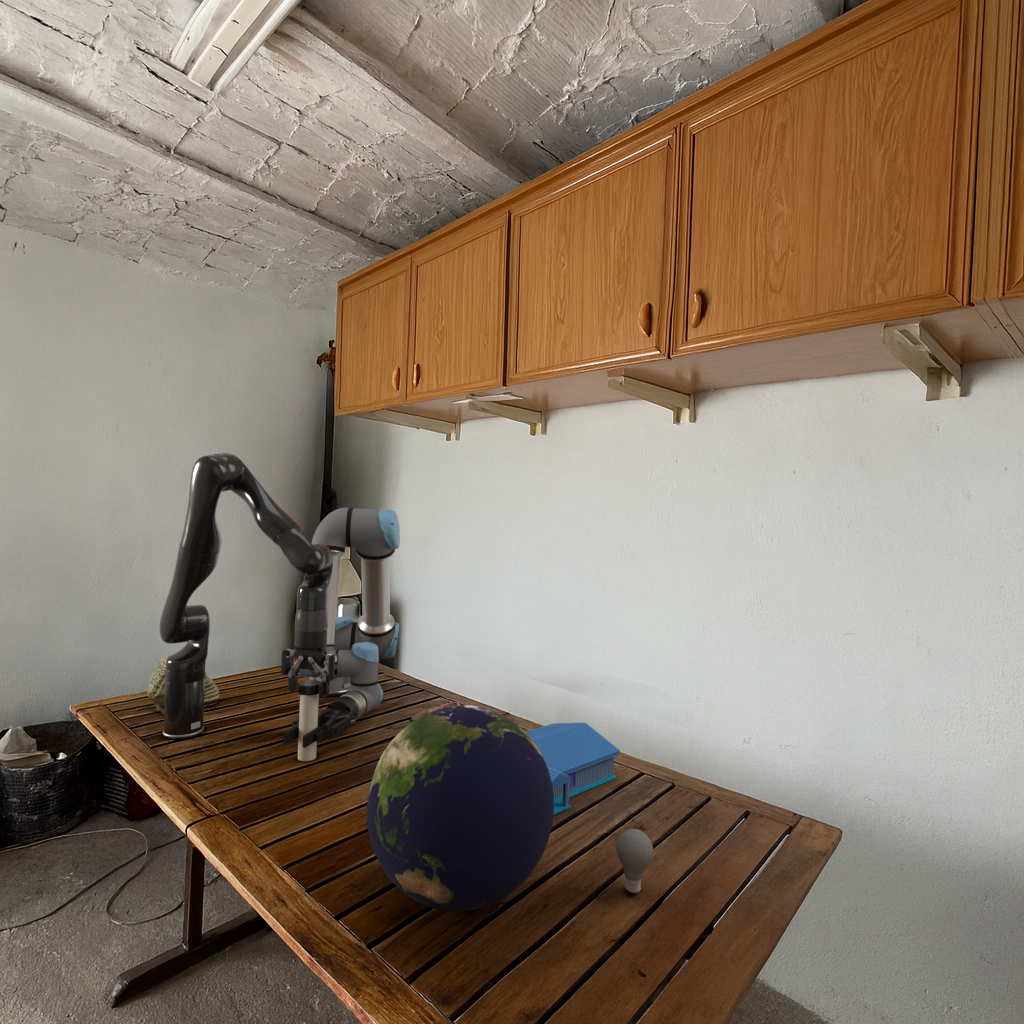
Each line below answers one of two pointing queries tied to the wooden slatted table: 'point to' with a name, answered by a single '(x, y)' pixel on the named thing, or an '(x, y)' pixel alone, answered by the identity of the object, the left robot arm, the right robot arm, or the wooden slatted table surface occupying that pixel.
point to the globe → (460, 808)
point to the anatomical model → (434, 710)
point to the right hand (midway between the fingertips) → (294, 740)
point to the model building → (574, 759)
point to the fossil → (158, 687)
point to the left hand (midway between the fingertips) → (308, 694)
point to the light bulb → (634, 857)
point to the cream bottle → (307, 725)
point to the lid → (309, 687)
